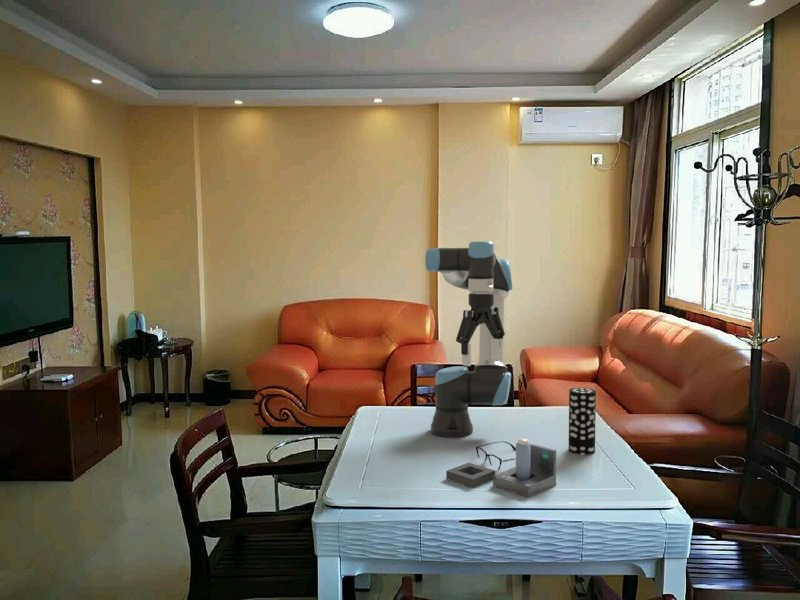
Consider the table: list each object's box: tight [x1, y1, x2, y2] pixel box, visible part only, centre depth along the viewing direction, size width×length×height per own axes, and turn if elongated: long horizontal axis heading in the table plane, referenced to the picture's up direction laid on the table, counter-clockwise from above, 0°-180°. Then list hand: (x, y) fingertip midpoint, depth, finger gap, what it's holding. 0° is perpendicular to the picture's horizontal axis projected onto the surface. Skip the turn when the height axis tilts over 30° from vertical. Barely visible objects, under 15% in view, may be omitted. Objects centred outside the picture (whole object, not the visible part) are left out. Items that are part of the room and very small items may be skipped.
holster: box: [445, 462, 496, 489], centre depth 192 cm, size 10×10×2 cm
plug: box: [515, 438, 531, 481], centre depth 185 cm, size 4×4×13 cm
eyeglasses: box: [474, 440, 516, 469], centre depth 208 cm, size 16×16×4 cm
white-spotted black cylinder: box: [568, 387, 597, 456], centre depth 215 cm, size 8×8×20 cm
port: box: [492, 443, 557, 499], centre depth 186 cm, size 12×13×10 cm
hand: (481, 362), depth 201 cm, fingers open, 13 cm apart
